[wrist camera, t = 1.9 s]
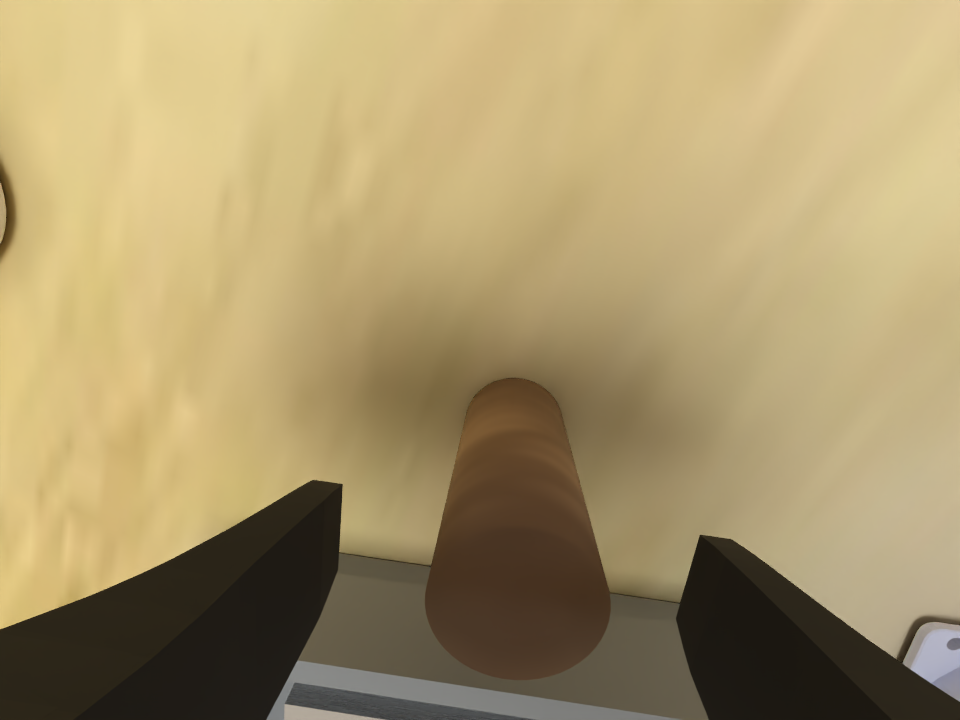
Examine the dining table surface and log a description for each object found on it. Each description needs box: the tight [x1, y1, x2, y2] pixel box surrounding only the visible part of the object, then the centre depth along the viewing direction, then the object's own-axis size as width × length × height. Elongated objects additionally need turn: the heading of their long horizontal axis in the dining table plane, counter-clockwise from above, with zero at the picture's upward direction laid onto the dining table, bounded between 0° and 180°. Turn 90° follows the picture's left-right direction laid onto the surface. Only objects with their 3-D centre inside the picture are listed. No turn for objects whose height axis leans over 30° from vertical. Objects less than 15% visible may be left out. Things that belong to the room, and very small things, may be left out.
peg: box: [425, 378, 611, 680], centre depth 12 cm, size 3×3×8 cm
